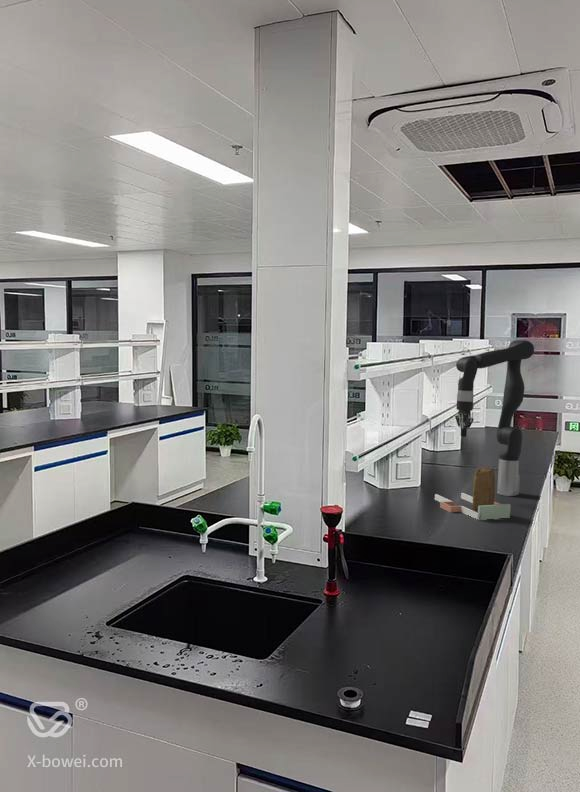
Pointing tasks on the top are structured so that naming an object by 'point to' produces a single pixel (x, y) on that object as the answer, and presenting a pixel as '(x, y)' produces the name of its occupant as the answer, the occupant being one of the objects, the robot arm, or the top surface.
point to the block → (483, 487)
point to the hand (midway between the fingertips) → (463, 436)
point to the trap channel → (483, 511)
